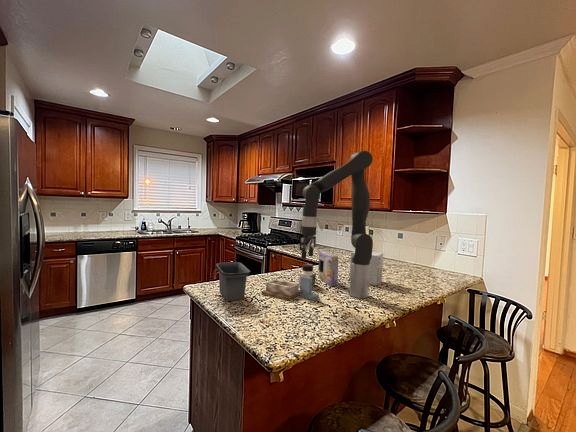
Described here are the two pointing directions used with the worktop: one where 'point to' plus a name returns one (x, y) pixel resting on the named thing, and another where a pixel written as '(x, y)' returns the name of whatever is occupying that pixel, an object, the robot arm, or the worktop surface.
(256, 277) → the worktop surface
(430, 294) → the worktop surface
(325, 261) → the cake pan box
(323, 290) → the worktop surface
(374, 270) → the supplement box
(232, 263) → the storage bin
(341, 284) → the worktop surface
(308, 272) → the medicine bottle
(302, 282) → the bracket
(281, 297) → the well block
